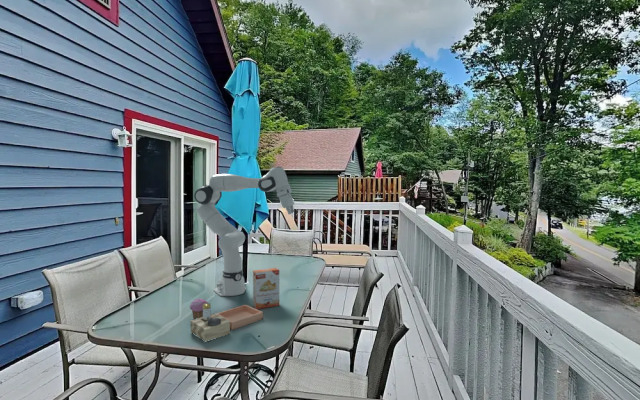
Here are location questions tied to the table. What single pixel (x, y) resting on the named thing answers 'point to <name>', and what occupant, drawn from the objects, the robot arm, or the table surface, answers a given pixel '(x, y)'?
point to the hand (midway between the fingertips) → (291, 213)
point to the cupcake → (197, 307)
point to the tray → (241, 316)
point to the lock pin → (206, 312)
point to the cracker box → (265, 288)
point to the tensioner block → (210, 327)
